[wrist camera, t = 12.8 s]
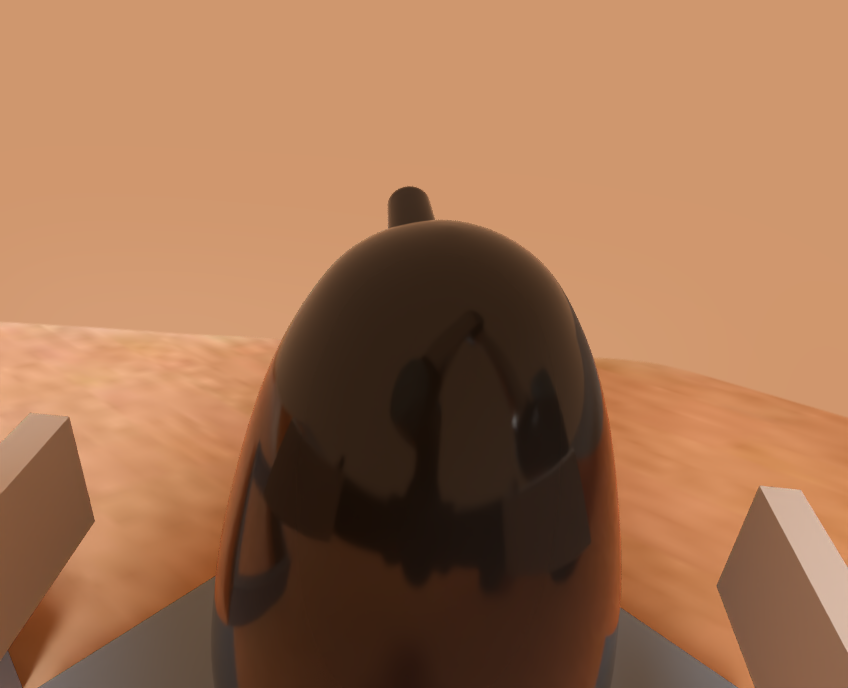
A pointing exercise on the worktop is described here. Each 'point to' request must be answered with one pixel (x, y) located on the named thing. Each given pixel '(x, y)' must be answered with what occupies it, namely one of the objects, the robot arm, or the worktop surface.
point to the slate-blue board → (192, 668)
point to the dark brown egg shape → (424, 480)
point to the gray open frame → (8, 673)
